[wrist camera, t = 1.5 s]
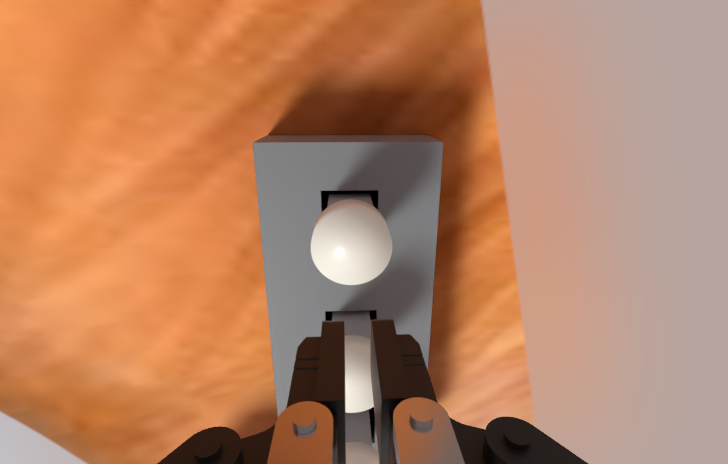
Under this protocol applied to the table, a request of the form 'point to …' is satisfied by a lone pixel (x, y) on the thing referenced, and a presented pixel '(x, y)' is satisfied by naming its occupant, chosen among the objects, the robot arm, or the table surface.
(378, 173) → the control panel
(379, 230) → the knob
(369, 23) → the table surface
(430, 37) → the table surface
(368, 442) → the knob outer
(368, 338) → the knob middle
